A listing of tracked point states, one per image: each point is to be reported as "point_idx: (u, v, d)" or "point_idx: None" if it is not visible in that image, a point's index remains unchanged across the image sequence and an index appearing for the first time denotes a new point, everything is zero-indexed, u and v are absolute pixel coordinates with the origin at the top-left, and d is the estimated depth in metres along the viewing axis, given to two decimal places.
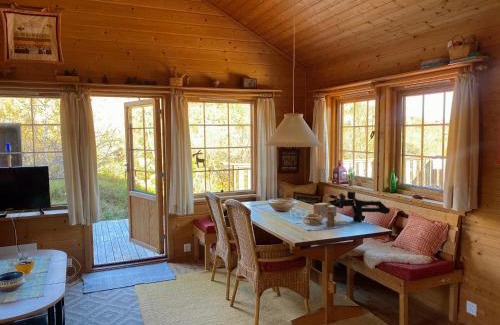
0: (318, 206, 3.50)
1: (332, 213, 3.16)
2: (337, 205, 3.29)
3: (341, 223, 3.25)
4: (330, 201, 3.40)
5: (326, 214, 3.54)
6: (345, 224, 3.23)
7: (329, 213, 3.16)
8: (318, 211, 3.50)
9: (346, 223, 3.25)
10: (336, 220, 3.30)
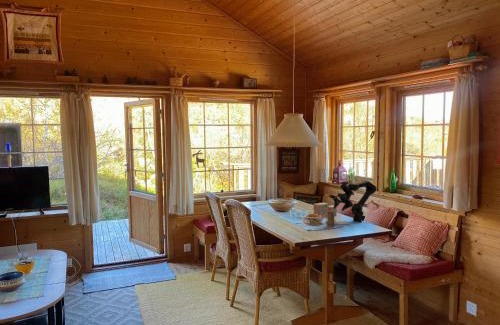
0: (318, 206, 3.50)
1: (332, 213, 3.16)
2: (347, 206, 3.19)
3: (341, 223, 3.25)
4: (334, 206, 3.26)
5: (326, 214, 3.54)
6: (345, 224, 3.23)
7: (329, 213, 3.16)
8: (318, 211, 3.50)
9: (346, 223, 3.25)
10: (336, 220, 3.30)
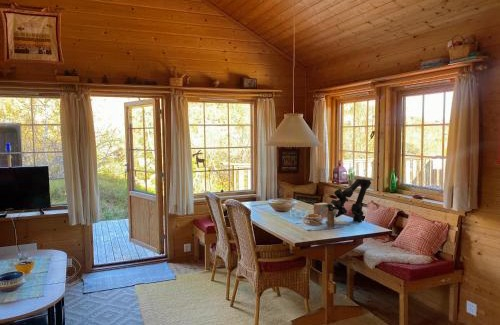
0: (318, 206, 3.50)
1: (332, 213, 3.16)
2: (341, 213, 3.16)
3: (341, 223, 3.25)
4: None
5: (326, 214, 3.54)
6: (345, 224, 3.23)
7: (329, 213, 3.16)
8: (318, 211, 3.51)
9: (346, 223, 3.25)
10: (336, 220, 3.30)
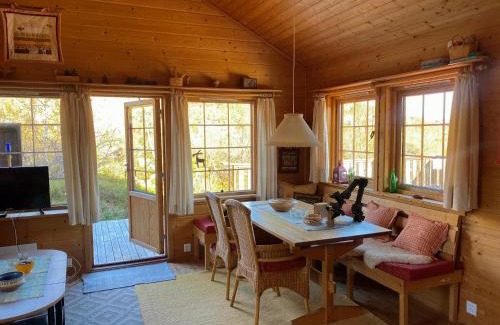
0: (318, 206, 3.51)
1: (332, 213, 3.16)
2: (337, 215, 3.17)
3: (341, 223, 3.25)
4: None
5: (326, 214, 3.54)
6: (345, 224, 3.23)
7: (329, 213, 3.16)
8: (318, 211, 3.51)
9: (346, 223, 3.25)
10: (336, 220, 3.30)
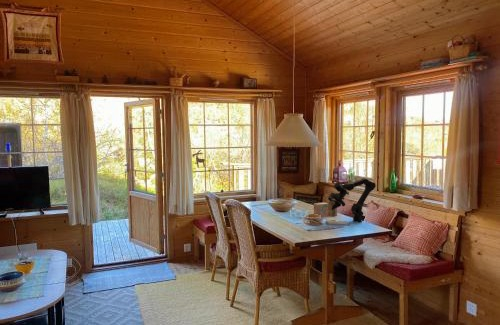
0: (318, 206, 3.51)
1: (333, 203, 3.22)
2: (337, 205, 3.22)
3: (341, 223, 3.25)
4: None
5: (326, 214, 3.55)
6: (345, 224, 3.23)
7: (330, 203, 3.23)
8: (318, 211, 3.52)
9: (346, 223, 3.25)
10: (336, 220, 3.30)
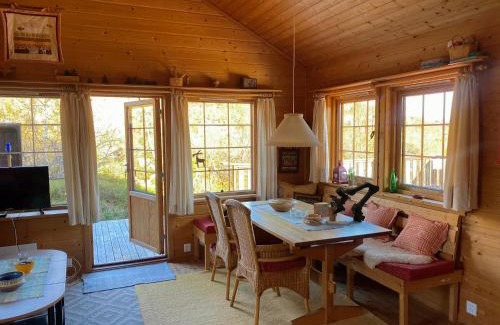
0: (318, 205, 3.52)
1: (333, 209, 3.27)
2: (339, 210, 3.24)
3: (341, 223, 3.25)
4: None
5: (326, 214, 3.55)
6: (345, 224, 3.23)
7: (330, 209, 3.28)
8: (318, 210, 3.53)
9: (346, 223, 3.25)
10: (336, 220, 3.30)
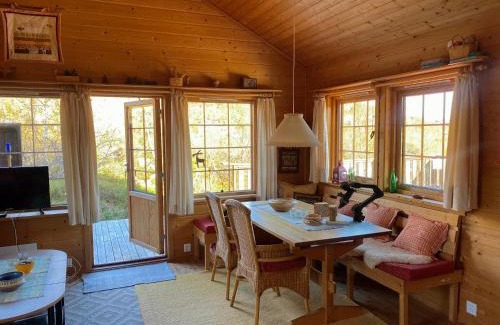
0: (318, 205, 3.53)
1: (333, 209, 3.27)
2: (344, 204, 3.26)
3: (341, 223, 3.25)
4: (339, 206, 3.37)
5: (326, 214, 3.56)
6: (345, 224, 3.23)
7: (330, 209, 3.28)
8: (318, 210, 3.54)
9: (346, 223, 3.25)
10: (336, 220, 3.30)
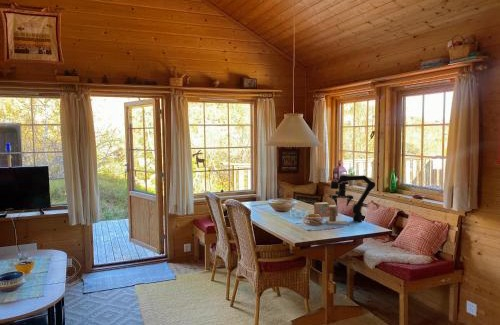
0: (317, 205, 3.54)
1: (333, 209, 3.27)
2: (335, 200, 3.36)
3: (341, 223, 3.25)
4: (346, 204, 3.38)
5: (326, 214, 3.56)
6: (345, 224, 3.23)
7: (330, 209, 3.28)
8: (317, 210, 3.54)
9: (346, 223, 3.25)
10: (336, 220, 3.30)
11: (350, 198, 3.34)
